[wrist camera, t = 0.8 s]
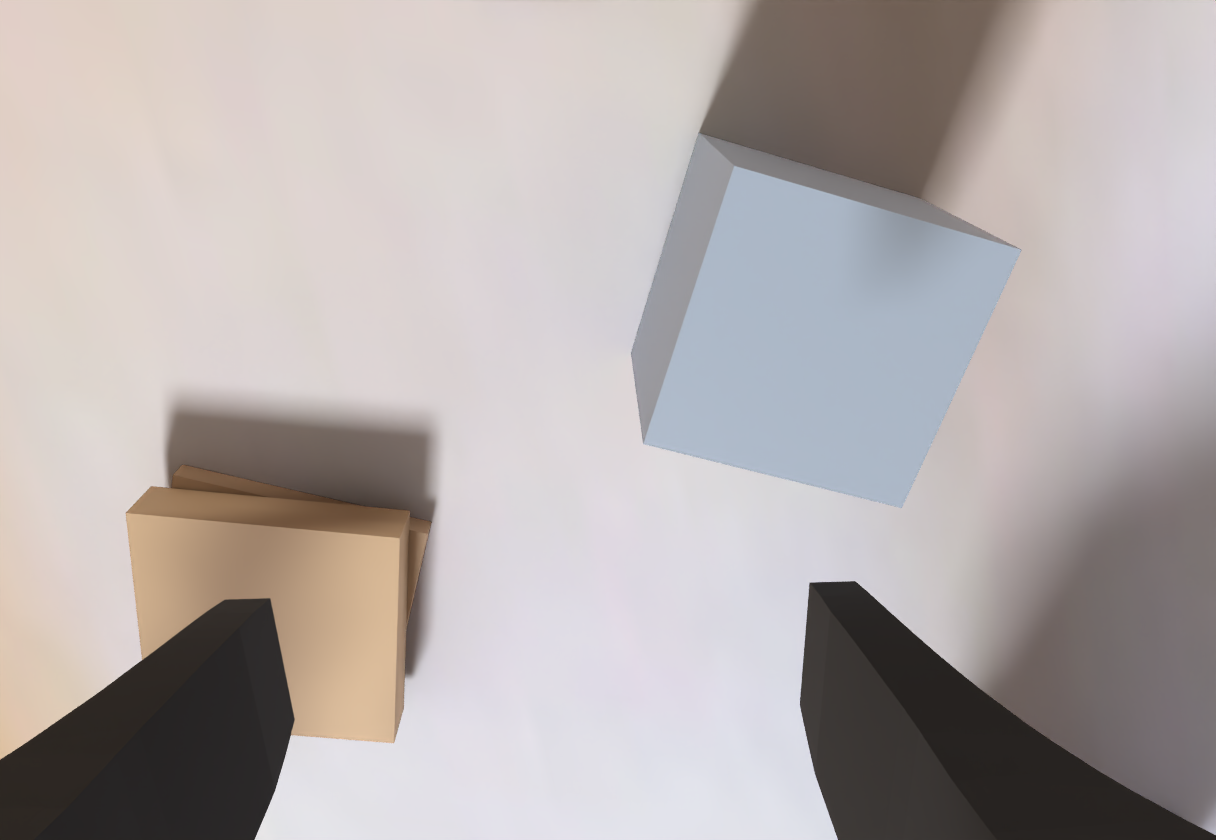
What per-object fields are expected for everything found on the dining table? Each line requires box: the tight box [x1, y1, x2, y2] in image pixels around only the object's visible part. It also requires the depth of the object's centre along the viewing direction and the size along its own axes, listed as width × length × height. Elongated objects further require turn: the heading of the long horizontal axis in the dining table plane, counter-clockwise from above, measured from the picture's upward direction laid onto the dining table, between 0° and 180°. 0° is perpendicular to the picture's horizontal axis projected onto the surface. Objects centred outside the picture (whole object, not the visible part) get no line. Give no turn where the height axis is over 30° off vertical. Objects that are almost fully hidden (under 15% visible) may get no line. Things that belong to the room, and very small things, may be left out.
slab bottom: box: [172, 465, 431, 629], centre depth 23 cm, size 6×6×1 cm
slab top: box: [126, 486, 410, 743], centre depth 22 cm, size 6×6×1 cm
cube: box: [631, 133, 1021, 508], centre depth 18 cm, size 5×5×5 cm
